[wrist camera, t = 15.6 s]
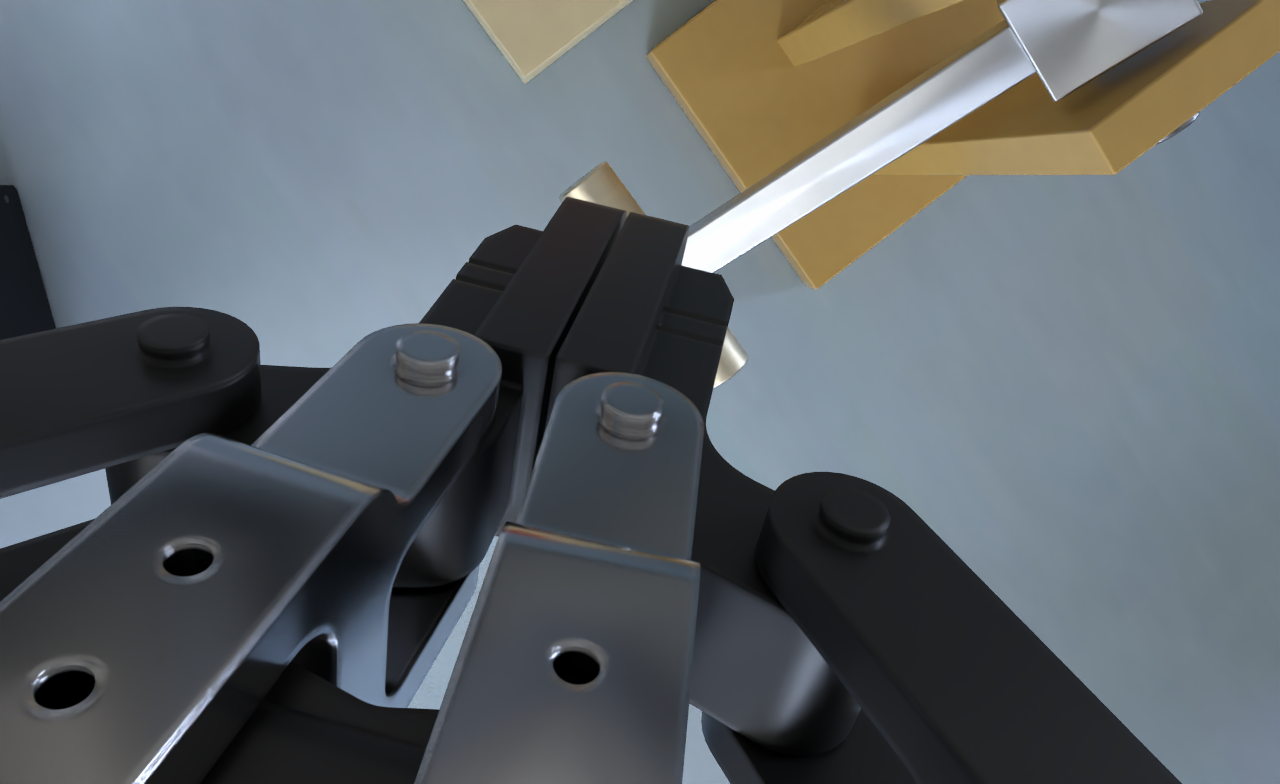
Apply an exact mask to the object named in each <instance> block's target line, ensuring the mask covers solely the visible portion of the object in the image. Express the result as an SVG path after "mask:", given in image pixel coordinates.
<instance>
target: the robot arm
mask: <svg viewBox="0 0 1280 784" xmlns="http://www.w3.org/2000/svg"><path fill="white" fill-rule="evenodd" d="M688 232H689V226H688V225H683V224H679V223H675V222H671V221H667V220H663V219H659V218H655V217H651V216H647V215H642V214H638V213H634V212H630V213H629V215H628V217H627V212H626V211H625V210H621V209H617V208H613V207H609V206H605V205H601V204H597V203H593V202H588V201H584V200H580V199H576V198H572V197H566V198H565V200H564V201H563V203H562V204H561V205H560V207H559V208H558V210H557V211H556V213H555V214H554V216H553V217H552V219H551V220H550V222H549V223H548V225H547V226H546V228H545V229H544V231H539V230H535V229H531V228H527V227H523V226H519V225H514V226H511V227H509V228H507V229H505V230H502V231H500V232H498V233H496V234H493V235H491V236H489V237H487V238H485V239H484V240H483V242H482V243H481V244H480V245H479V247H478V248H477V249H476V251H475V252H474V253H473V254H472V256H471V257H470V258H469V263H468V262H466V263H465V265H464V266H463V267H462V269H461V270H460V271H459V272H458V274H457V276H456V280H455V279H453V280H452V281H451V283H450V284H449V285H448V287H447V288H446V289H445V290H444V292H443V293H442V294H441V296H440V297H439V298H438V299H437V301H436V302H435V303H434V305H433V306H432V307H431V308H430V310H429V311H428V312H427V314H426V315H425V316H424V317H423V319H422V320H421V321H420V323H418V324H403V325H396V326H391V327H387V328H384V329H381V330H378V331H375V332H373V333H371V334H369V335H368V336H366V337H364V338H363V339H362V340H361V341H359V342H358V343H357V344H356V345H355V346H354V347H353V348H352V349H351V350H350V351H349V352H348V353H347V354H346V355H345V356H343V357H342V358H341V359H340V360H339V361H338V362H337V363H336V364H335V365H334V366H333V367H332V368H307V367H289V366H270V365H260V349H259V341H258V338H257V336H256V334H255V333H254V331H253V330H252V329H251V328H250V327H249V326H248V325H246V324H245V323H244V322H242V321H240V320H239V319H237V318H235V317H232V316H230V315H228V314H225V313H221V312H218V311H214V310H209V309H203V308H193V307H166V308H157V309H150V310H144V311H140V312H135V313H130V314H125V315H120V316H115V317H110V318H105V319H101V320H96V321H91V322H86V323H81V324H76V325H71V326H66V327H62V328H57V329H52V330H47V331H42V332H37V333H32V334H27V335H23V336H18V337H13V338H8V339H3V340H0V499H1V498H4V497H7V496H11V495H14V494H18V493H21V492H25V491H28V490H32V489H35V488H38V487H42V486H45V485H49V484H52V483H56V482H59V481H63V480H66V479H69V478H73V477H76V476H80V475H83V474H87V473H90V472H93V471H97V470H100V469H104V468H105V469H106V475H107V481H108V488H109V494H110V500H111V506H110V507H108V508H107V509H106V510H105V511H104V512H103V513H102V514H100V515H99V516H98V517H97V518H96V519H93V520H90V521H86V522H83V523H80V524H77V525H74V526H71V527H68V528H64V529H61V530H58V531H55V532H52V533H49V534H46V535H42V536H39V537H36V538H33V539H30V540H27V541H24V542H20V543H17V544H14V545H11V546H8V547H5V548H2V549H0V784H682V777H683V765H684V754H685V743H686V732H687V720H688V709H689V703H690V704H691V705H693V706H695V707H696V708H698V709H700V710H701V711H702V720H701V721H702V731H703V734H704V737H705V741H706V743H707V745H708V747H709V749H710V751H711V753H712V754H713V756H714V758H715V759H716V761H717V762H718V764H719V766H720V767H721V769H722V771H723V772H724V774H725V775H726V777H727V779H728V780H729V782H730V784H1182V783H1181V782H1180V781H1179V780H1178V779H1177V778H1176V777H1175V776H1174V775H1173V774H1172V773H1171V772H1170V771H1169V770H1168V769H1167V768H1166V767H1165V766H1164V765H1163V764H1162V763H1161V762H1160V761H1159V760H1158V759H1157V758H1156V757H1155V756H1154V755H1153V754H1152V753H1151V752H1150V751H1149V750H1148V749H1147V748H1146V747H1145V746H1144V745H1143V744H1142V743H1141V742H1140V741H1139V740H1138V739H1137V738H1136V737H1135V736H1134V735H1133V734H1132V733H1131V732H1130V731H1129V729H1128V728H1127V727H1126V726H1125V725H1124V724H1123V723H1122V722H1121V721H1120V720H1119V719H1118V718H1117V717H1116V716H1115V715H1114V714H1113V713H1112V712H1111V711H1110V710H1109V709H1108V708H1107V707H1106V706H1105V705H1104V704H1103V703H1102V702H1101V701H1100V700H1099V699H1098V698H1097V697H1096V696H1095V695H1094V694H1093V693H1092V692H1091V691H1090V690H1089V689H1088V688H1087V687H1086V686H1085V685H1084V684H1083V683H1082V682H1081V681H1080V680H1079V679H1078V678H1077V677H1076V676H1075V675H1074V674H1073V673H1072V672H1071V670H1070V669H1069V668H1068V667H1067V666H1066V665H1065V664H1064V663H1063V662H1062V661H1061V660H1060V659H1059V658H1058V657H1057V656H1056V655H1055V654H1054V653H1053V652H1052V651H1051V650H1050V649H1049V648H1048V647H1047V646H1046V645H1045V644H1044V643H1043V642H1042V641H1041V640H1040V639H1039V638H1038V637H1037V636H1036V635H1035V634H1034V633H1033V632H1032V631H1031V630H1030V629H1029V628H1028V627H1027V626H1026V625H1025V624H1024V623H1023V622H1022V621H1021V620H1020V619H1019V618H1018V617H1017V616H1016V615H1015V614H1014V613H1013V611H1012V610H1011V609H1010V608H1009V607H1008V606H1007V605H1006V604H1005V603H1004V602H1003V601H1002V600H1001V599H1000V598H999V597H998V596H997V595H996V594H995V593H994V592H993V591H992V590H991V589H990V588H989V587H988V586H987V585H986V584H985V583H984V582H983V581H982V580H981V579H980V578H979V577H978V576H977V575H976V574H975V573H974V572H973V571H972V570H971V569H970V568H969V567H968V566H967V565H966V564H965V563H964V562H963V561H962V560H961V559H960V558H959V557H958V556H957V555H956V554H955V553H954V551H953V550H952V549H951V548H950V547H949V546H948V545H947V544H946V543H945V542H944V541H943V540H942V539H941V538H940V537H939V536H938V535H937V534H936V533H935V532H934V531H933V530H932V529H931V528H930V527H929V526H928V525H927V524H926V523H925V522H924V521H923V520H922V519H921V518H920V517H919V516H918V515H917V514H916V513H915V512H914V511H913V510H912V509H911V508H910V507H909V506H908V505H907V504H906V503H904V502H903V501H902V500H901V499H899V498H898V497H896V496H895V495H894V494H892V493H891V492H889V491H887V490H885V489H884V488H882V487H880V486H878V485H876V484H873V483H871V482H869V481H866V480H863V479H860V478H857V477H854V476H850V475H845V474H841V473H833V472H812V473H804V474H801V475H797V476H794V477H792V478H790V479H788V480H786V481H785V482H783V483H782V484H781V485H780V486H779V487H778V488H777V489H776V491H774V490H772V489H770V488H768V487H766V486H764V485H762V484H760V483H758V482H756V481H754V480H752V479H751V478H749V477H747V476H745V475H743V474H742V473H741V472H739V471H738V470H736V469H735V468H734V467H732V466H731V465H730V464H729V463H728V462H727V461H726V460H724V459H723V458H722V456H721V455H720V454H719V453H718V452H717V451H716V449H715V448H714V446H713V445H712V443H711V441H710V439H709V436H708V434H707V430H706V416H707V412H708V408H709V403H710V399H711V395H712V391H713V387H714V382H715V378H716V374H717V370H718V365H719V361H720V357H721V353H722V349H723V344H724V340H725V336H726V332H727V327H728V323H729V319H730V315H731V311H732V306H733V302H734V298H733V296H732V294H731V292H730V291H729V289H728V287H727V285H726V283H725V281H724V279H723V277H722V275H719V274H715V273H711V272H706V271H702V270H698V269H694V268H690V267H686V266H682V261H683V257H684V252H685V247H686V243H687V238H688ZM494 535H495V536H498V537H499V538H498V541H497V544H496V547H495V550H494V552H493V555H492V558H491V561H490V564H489V567H488V570H487V573H486V576H485V579H484V582H483V585H482V587H481V590H480V593H479V596H478V599H477V602H476V605H475V608H474V611H473V614H472V617H471V620H470V622H469V625H468V628H467V631H466V634H465V637H464V640H463V643H462V646H461V649H460V652H459V655H458V657H457V660H456V663H455V666H454V669H453V672H452V675H451V678H450V681H449V684H448V687H447V689H446V692H445V695H444V698H443V701H442V704H441V707H440V710H434V709H414V708H407V707H408V706H409V704H410V702H411V700H412V699H413V697H414V695H415V694H416V692H417V690H418V688H419V687H420V685H421V683H422V682H423V680H424V678H425V676H426V675H427V673H428V671H429V670H430V668H431V666H432V664H433V663H434V661H435V659H436V658H437V656H438V654H439V652H440V651H441V649H442V647H443V646H444V644H445V642H446V640H447V639H448V637H449V635H450V634H451V632H452V630H453V628H454V627H455V625H456V623H457V622H458V620H459V618H460V616H461V615H462V613H463V611H464V610H465V608H466V606H467V604H468V603H469V601H470V599H471V598H472V596H473V594H474V591H475V589H476V585H477V580H478V571H479V564H480V563H481V561H482V560H483V558H484V556H485V555H486V552H487V550H488V548H489V546H490V544H491V542H492V540H493V538H494Z"/></svg>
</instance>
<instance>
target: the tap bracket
mask: <svg viewBox="0 0 1280 784" xmlns="http://www.w3.org/2000/svg"><path fill="white" fill-rule="evenodd" d="M1199 4H1200V6H1201V8H1202V10H1203V13H1202V15H1201V16H1199V17H1197V18H1196V19H1194V20H1192V21H1191V22H1189V23H1187V24H1186V25H1184V26H1182V27H1181V28H1179V29H1177V30H1176V31H1174V32H1172V33H1171V34H1169V35H1167V36H1166V37H1164V38H1162V39H1161V40H1159V41H1157V42H1156V43H1154V44H1152V45H1151V46H1149V47H1147V48H1146V49H1144V50H1142V51H1141V52H1139V53H1137V54H1136V55H1134V56H1132V57H1131V58H1129V59H1127V60H1126V61H1124V62H1122V63H1121V64H1119V65H1117V66H1116V67H1114V68H1112V69H1111V70H1109V71H1107V72H1106V73H1104V74H1102V75H1101V76H1099V77H1097V78H1096V79H1094V80H1092V81H1091V82H1089V83H1087V84H1086V85H1084V86H1082V87H1081V88H1079V89H1077V90H1076V91H1074V92H1072V93H1070V94H1069V95H1067V96H1065V97H1064V98H1062V99H1060V100H1059V101H1056V102H1055V101H1053V99H1052V98H1051V96H1050V94H1049V93H1048V91H1047V89H1046V88H1045V86H1044V84H1043V82H1042V81H1041V79H1040V77H1039V76H1038V74H1037V72H1036V73H1035V74H1033V75H1032V76H1030V77H1029V78H1027V79H1025V80H1024V81H1022V82H1021V83H1019V84H1017V85H1016V86H1014V87H1012V88H1011V89H1009V90H1008V91H1006V92H1004V93H1003V94H1001V95H1000V96H998V97H996V98H995V99H993V100H991V101H990V102H988V103H987V104H985V105H983V106H982V107H980V108H979V109H977V110H975V111H974V112H972V113H971V114H969V115H967V116H966V117H964V118H962V119H961V120H959V121H958V122H956V123H954V124H953V125H951V126H950V127H948V128H946V129H945V130H943V131H941V132H940V133H938V134H937V135H935V136H933V137H932V138H930V139H929V140H927V141H925V142H924V143H922V144H920V145H919V146H917V147H916V148H914V149H912V150H911V151H909V152H908V153H906V154H904V155H903V156H901V157H900V158H898V159H896V160H895V161H893V162H891V163H890V164H888V165H887V166H885V167H883V168H882V169H880V170H879V171H877V172H875V173H874V174H872V175H870V176H869V177H867V178H866V179H864V180H862V181H861V182H859V183H858V184H856V185H854V186H853V187H851V188H850V189H848V190H846V191H845V192H843V193H841V194H840V195H838V196H837V197H835V198H833V199H832V200H830V201H829V202H827V203H825V204H824V205H822V206H820V207H819V208H817V209H816V210H814V211H812V212H811V213H809V214H808V215H806V216H804V217H803V218H801V219H799V220H798V221H796V222H795V223H793V224H791V225H790V226H788V227H787V228H785V229H783V230H782V231H780V232H779V233H777V234H775V235H774V236H772V238H773V240H774V241H775V243H776V244H777V246H778V247H779V248H780V250H781V251H782V253H783V254H784V256H785V257H786V258H787V260H788V261H789V263H790V264H791V266H792V267H793V268H794V270H795V271H796V273H797V274H798V276H799V277H800V279H801V280H802V281H803V283H804V284H805V285H806V286H808V287H811V288H813V289H818V288H819V287H821V286H822V285H823V284H825V283H826V282H827V281H829V280H830V279H831V278H833V277H834V276H835V275H837V274H838V273H839V272H841V271H842V270H843V269H845V268H846V267H847V266H849V265H850V264H851V263H852V262H854V261H855V260H856V259H858V258H859V257H860V256H862V255H863V254H864V253H866V252H867V251H868V250H870V249H871V248H872V247H874V246H875V245H876V244H878V243H879V242H880V241H882V240H883V239H884V238H885V237H887V236H888V235H889V234H891V233H892V232H893V231H895V230H896V229H897V228H899V227H900V226H901V225H903V224H904V223H905V222H907V221H908V220H909V219H911V218H912V217H913V216H915V215H916V214H917V213H919V212H920V211H921V210H922V209H924V208H925V207H926V206H928V205H929V204H930V203H932V202H933V201H934V200H936V199H937V198H938V197H940V196H941V195H942V194H944V193H945V192H946V191H948V190H949V189H950V188H952V187H953V186H954V185H955V184H957V183H958V182H959V181H961V180H962V179H963V178H965V177H966V176H967V175H1115V174H1117V173H1118V172H1120V171H1121V170H1122V169H1124V168H1125V167H1126V166H1128V165H1129V164H1130V163H1132V162H1133V161H1134V160H1135V159H1137V158H1138V157H1139V156H1141V155H1142V154H1143V153H1145V152H1146V151H1147V150H1149V149H1150V148H1151V147H1153V146H1154V145H1156V144H1159V143H1161V142H1163V141H1165V140H1167V139H1169V138H1171V137H1172V136H1174V135H1176V134H1178V133H1179V132H1181V131H1182V130H1183V129H1185V128H1186V127H1187V126H1189V125H1190V124H1191V123H1192V122H1193V121H1194V120H1195V119H1196V118H1197V117H1198V116H1199V114H1200V111H1201V110H1202V109H1203V108H1205V107H1206V106H1207V105H1209V104H1210V103H1211V102H1213V101H1214V100H1215V99H1217V98H1218V97H1219V96H1221V95H1222V94H1223V93H1225V92H1226V91H1227V90H1229V89H1230V88H1231V87H1232V86H1234V85H1235V84H1236V83H1238V82H1239V81H1240V80H1242V79H1243V78H1244V77H1246V76H1247V75H1248V74H1250V73H1251V72H1252V71H1254V70H1255V69H1256V68H1258V67H1259V66H1260V65H1262V64H1263V63H1264V62H1266V61H1267V60H1268V59H1270V58H1271V57H1272V56H1274V55H1275V54H1276V53H1278V52H1279V51H1280V0H1211V1H1207V2H1203V3H1199ZM1003 20H1005V18H1004V17H1003V15H1002V13H1001V12H1000V10H999V8H998V3H997V0H715V1H714V2H713V3H711V4H710V5H709V6H707V7H706V8H705V9H703V10H702V11H701V12H700V13H698V14H697V15H696V16H694V17H693V18H692V19H691V20H689V21H688V22H687V23H685V24H684V25H683V26H681V27H680V28H679V29H678V30H676V31H675V32H674V33H672V34H671V35H670V36H669V37H667V38H666V39H665V40H663V41H662V42H661V43H659V44H658V45H657V46H656V47H654V48H653V49H652V50H651V51H650V52H648V53H647V55H646V58H647V59H648V61H649V62H650V64H651V65H652V67H653V68H654V69H655V71H656V72H657V74H658V75H659V77H660V78H661V79H662V81H663V82H664V84H665V85H666V87H667V88H668V89H669V91H670V92H671V94H672V95H673V97H674V98H675V99H676V101H677V102H678V104H679V105H680V107H681V108H682V110H683V111H684V112H685V114H686V115H687V117H688V118H689V120H690V121H691V122H692V124H693V125H694V127H695V128H696V130H697V131H698V132H699V134H700V135H701V137H702V138H703V140H704V141H705V142H706V144H707V145H708V147H709V148H710V150H711V151H712V152H713V154H714V155H715V157H716V158H717V160H718V161H719V162H720V164H721V165H722V167H723V168H724V170H725V171H726V173H727V174H728V175H729V177H730V178H731V180H732V181H733V183H734V184H735V185H736V187H737V188H738V190H739V191H740V193H742V192H743V191H745V190H746V189H748V188H749V187H751V186H752V185H754V184H755V183H757V182H758V181H760V180H761V179H763V178H764V177H766V176H767V175H769V174H770V173H772V172H774V171H775V170H777V169H778V168H780V167H781V166H783V165H784V164H786V163H787V162H789V161H790V160H792V159H793V158H795V157H796V156H798V155H799V154H801V153H802V152H804V151H805V150H807V149H808V148H810V147H812V146H813V145H815V144H816V143H818V142H819V141H821V140H822V139H824V138H825V137H827V136H828V135H830V134H831V133H833V132H834V131H836V130H837V129H839V128H840V127H842V126H843V125H845V124H846V123H848V122H850V121H851V120H853V119H854V118H856V117H857V116H859V115H860V114H862V113H863V112H865V111H866V110H868V109H869V108H871V107H872V106H874V105H875V104H877V103H878V102H880V101H881V100H883V99H885V98H886V97H888V96H889V95H891V94H892V93H894V92H895V91H897V90H898V89H900V88H901V87H903V86H904V85H906V84H907V83H909V82H910V81H912V80H913V79H915V78H916V77H918V76H919V75H921V74H923V73H924V72H926V71H927V70H929V69H930V68H932V67H933V66H935V65H936V64H938V63H939V62H941V61H942V60H944V59H945V58H947V57H948V56H950V55H951V54H953V53H954V52H956V51H957V50H959V49H961V48H962V47H964V46H965V45H967V44H968V43H970V42H971V41H973V40H974V39H976V38H977V37H979V36H980V35H982V34H983V33H985V32H986V31H988V30H989V29H991V28H992V27H994V26H995V25H997V24H999V23H1000V22H1002V21H1003Z"/></svg>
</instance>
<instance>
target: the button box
mask: <svg viewBox="0 0 1280 784" xmlns="http://www.w3.org/2000/svg"><path fill="white" fill-rule="evenodd" d="M463 1H464V3H465V4H466V5H467V7H468V8H469V9H470V11H471V12H472V13H473V15H474V16H475V17H476V19H477V20H478V22H479V23H480V24H481V26H482V27H483V28H484V30H485V31H486V32H487V34H488V35H489V36H490V38H491V39H492V41H493V42H494V43H495V45H496V46H497V47H498V49H499V50H500V51H501V53H502V54H503V55H504V57H505V58H506V60H507V61H508V62H509V64H510V65H511V66H512V68H513V69H514V70H515V72H516V73H517V74H518V76H519V77H520V79H521V80H522V81H523V83H527V82H529V81H530V80H531V79H532V78H534V77H535V76H536V75H538V74H539V73H540V72H541V71H543V70H544V69H545V68H547V67H548V66H549V65H550V64H552V63H553V62H554V61H556V60H557V59H558V58H560V57H561V56H562V55H563V54H565V53H566V52H567V51H569V50H570V49H571V48H572V47H574V46H575V45H576V44H578V43H579V42H580V41H581V40H583V39H584V38H585V37H587V36H588V35H589V34H590V33H592V32H593V31H594V30H596V29H597V28H598V27H600V26H601V25H602V24H603V23H605V22H606V21H607V20H609V19H610V18H611V17H612V16H614V15H615V14H616V13H618V12H619V11H620V10H621V9H623V8H624V7H625V6H627V5H628V4H629V3H630V2H632V1H633V0H463Z"/></svg>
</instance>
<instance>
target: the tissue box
mask: <svg viewBox="0 0 1280 784" xmlns="http://www.w3.org/2000/svg"><path fill="white" fill-rule="evenodd" d="M52 329H56V328H55V325H54V321H53V318H52V314H51V310H50V307H49V303H48V299H47V296H46V292H45V289H44V285H43V281H42V278H41V274H40V271H39V267H38V263H37V260H36V256H35V252H34V249H33V245H32V242H31V238H30V234H29V231H28V227H27V223H26V220H25V216H24V213H23V210H22V207H21V203H20V199H19V196H18V192H17V190H16V188H15V187H14V186H13V185H11V186H8V185H0V340H3V339H8V338H13V337H18V336H23V335H27V334H32V333H37V332H42V331H47V330H52Z"/></svg>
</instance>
